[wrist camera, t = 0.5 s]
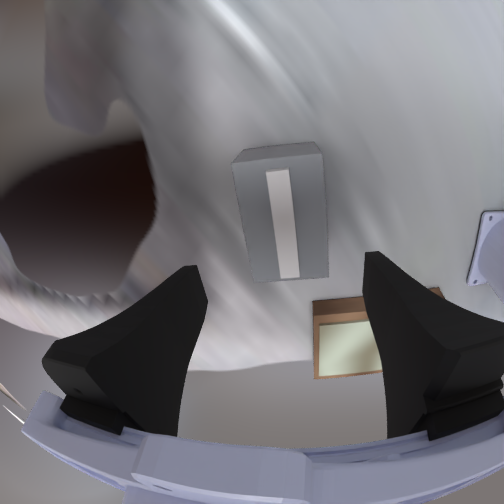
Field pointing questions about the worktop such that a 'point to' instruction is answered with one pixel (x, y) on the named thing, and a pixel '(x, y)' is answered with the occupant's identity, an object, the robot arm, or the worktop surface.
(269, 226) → the grey box
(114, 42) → the worktop surface
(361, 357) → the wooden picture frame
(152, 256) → the worktop surface
